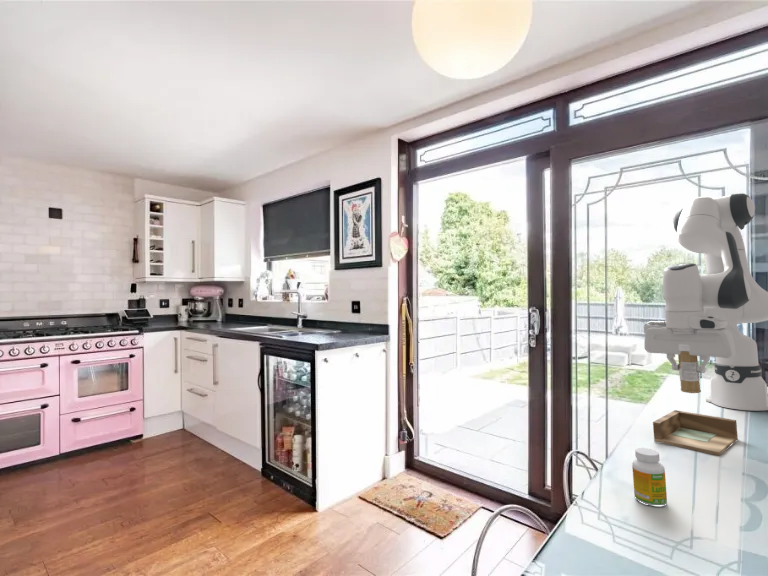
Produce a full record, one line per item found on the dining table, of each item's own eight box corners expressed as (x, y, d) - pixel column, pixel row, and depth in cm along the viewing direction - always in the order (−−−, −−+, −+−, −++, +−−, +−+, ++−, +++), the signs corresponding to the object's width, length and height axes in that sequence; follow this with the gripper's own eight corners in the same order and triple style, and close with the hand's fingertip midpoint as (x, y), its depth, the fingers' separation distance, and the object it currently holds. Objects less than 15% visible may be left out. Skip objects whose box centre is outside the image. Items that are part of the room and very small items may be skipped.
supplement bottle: (655, 510, 75) (651, 458, 75) (628, 498, 80) (624, 449, 80) (673, 503, 77) (669, 453, 78) (645, 492, 82) (642, 444, 82)
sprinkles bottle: (684, 389, 113) (680, 342, 114) (704, 391, 110) (699, 342, 110) (677, 392, 111) (673, 343, 111) (697, 394, 107) (692, 344, 108)
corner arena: (676, 427, 118) (675, 410, 118) (737, 439, 107) (736, 420, 107) (654, 441, 109) (652, 422, 109) (719, 455, 98) (717, 434, 98)
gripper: (638, 321, 118) (642, 368, 117) (727, 322, 101) (732, 377, 101) (647, 320, 121) (651, 365, 121) (734, 320, 105) (739, 373, 104)
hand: (688, 371), depth 110 cm, fingers closed on sprinkles bottle, 4 cm apart
